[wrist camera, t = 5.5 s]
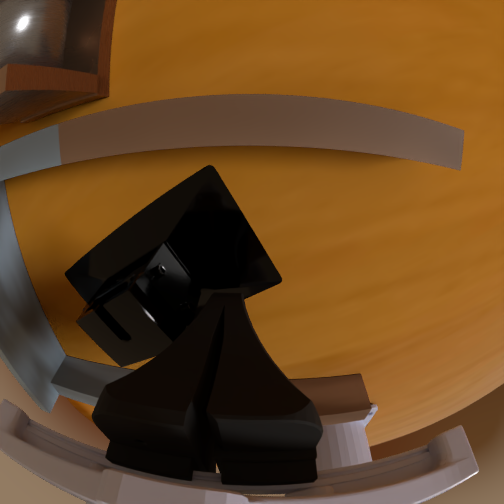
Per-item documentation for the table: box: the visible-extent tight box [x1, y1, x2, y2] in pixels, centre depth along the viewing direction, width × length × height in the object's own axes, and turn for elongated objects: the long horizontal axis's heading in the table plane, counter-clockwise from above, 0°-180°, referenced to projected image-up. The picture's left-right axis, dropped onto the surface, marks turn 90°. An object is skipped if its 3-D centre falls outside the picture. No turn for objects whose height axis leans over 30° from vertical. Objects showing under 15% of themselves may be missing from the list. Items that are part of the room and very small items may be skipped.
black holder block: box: [65, 165, 282, 367], centre depth 11 cm, size 12×7×5 cm, turn 120°
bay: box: [0, 94, 464, 426], centre depth 11 cm, size 17×23×5 cm
